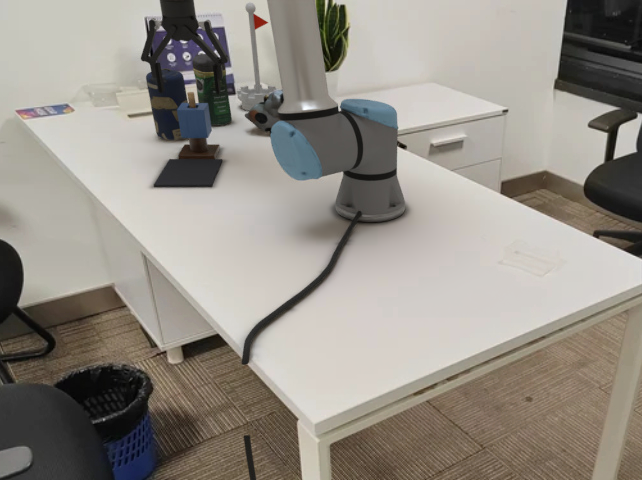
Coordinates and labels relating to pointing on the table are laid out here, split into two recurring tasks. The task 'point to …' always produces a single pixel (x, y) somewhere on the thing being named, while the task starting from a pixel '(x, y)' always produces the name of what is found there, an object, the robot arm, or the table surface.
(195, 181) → the mat
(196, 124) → the block
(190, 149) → the stand
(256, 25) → the flag stand
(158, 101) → the canister
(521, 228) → the table surface
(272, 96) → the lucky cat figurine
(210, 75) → the coffee jar
